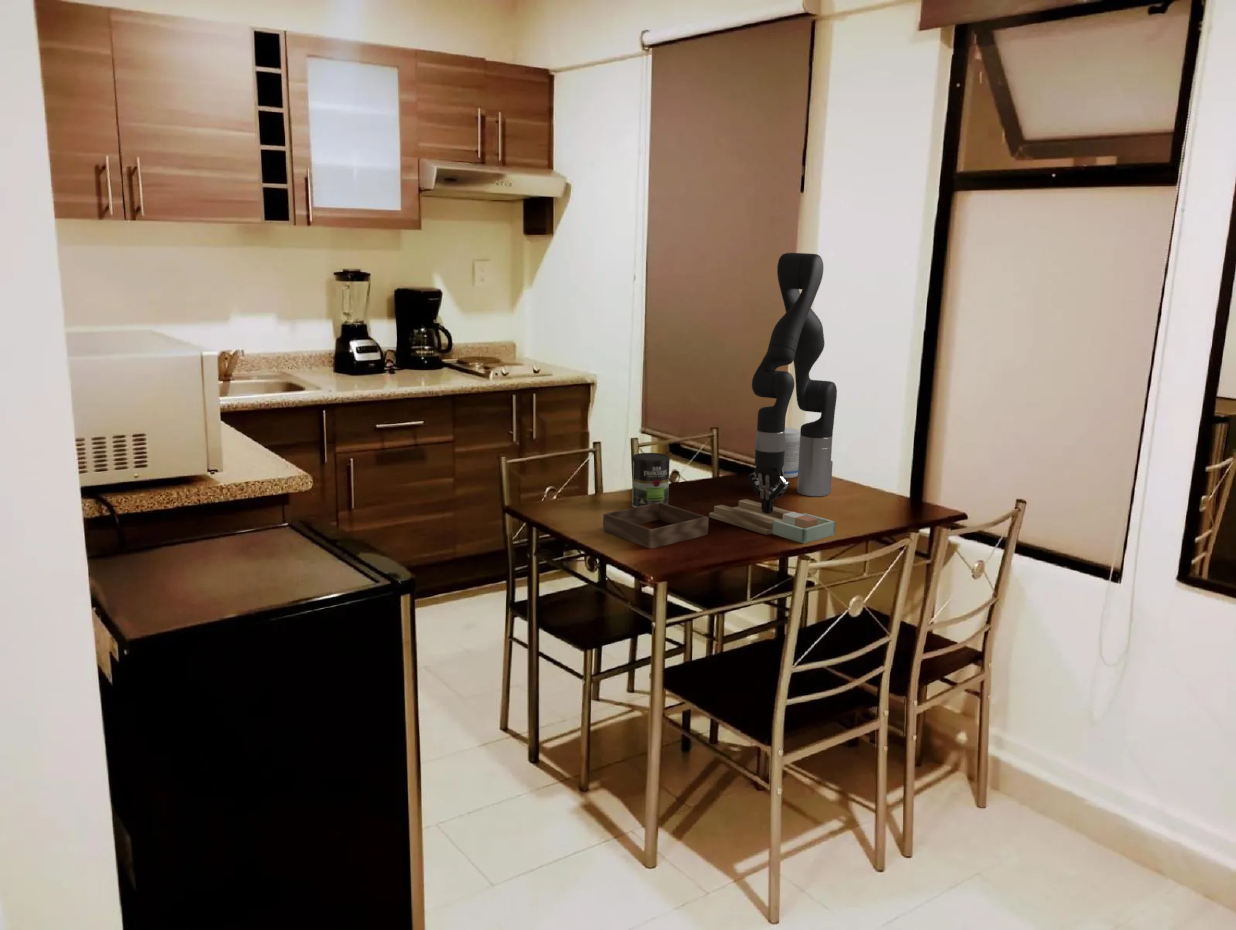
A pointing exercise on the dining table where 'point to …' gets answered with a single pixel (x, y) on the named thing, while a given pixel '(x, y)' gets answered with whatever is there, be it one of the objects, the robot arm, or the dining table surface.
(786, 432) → the supplement tub
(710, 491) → the dining table surface
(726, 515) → the slot board
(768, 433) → the robot arm
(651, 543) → the brown shallow square box
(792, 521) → the light grey cube
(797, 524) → the orange cube
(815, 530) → the tray
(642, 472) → the coffee can
